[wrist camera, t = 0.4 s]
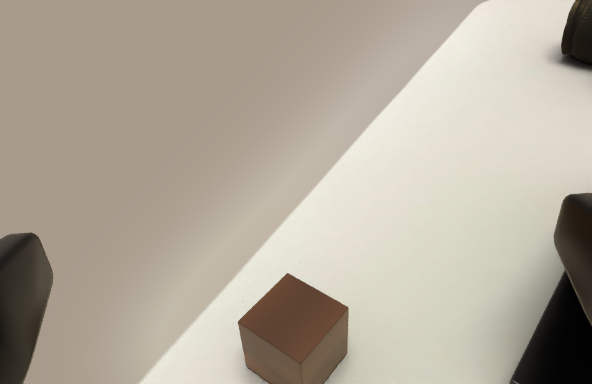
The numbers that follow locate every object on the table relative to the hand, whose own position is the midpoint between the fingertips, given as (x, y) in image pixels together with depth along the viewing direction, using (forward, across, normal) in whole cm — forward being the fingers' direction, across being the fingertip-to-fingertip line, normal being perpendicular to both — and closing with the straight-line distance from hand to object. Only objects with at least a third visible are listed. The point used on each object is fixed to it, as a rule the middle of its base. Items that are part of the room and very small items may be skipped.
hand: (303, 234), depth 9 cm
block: (+12, 0, +17) cm, 21 cm away
